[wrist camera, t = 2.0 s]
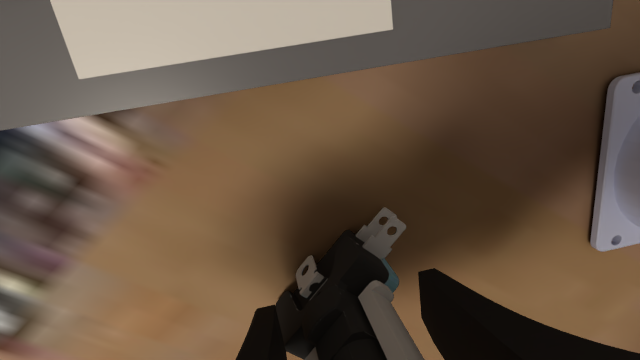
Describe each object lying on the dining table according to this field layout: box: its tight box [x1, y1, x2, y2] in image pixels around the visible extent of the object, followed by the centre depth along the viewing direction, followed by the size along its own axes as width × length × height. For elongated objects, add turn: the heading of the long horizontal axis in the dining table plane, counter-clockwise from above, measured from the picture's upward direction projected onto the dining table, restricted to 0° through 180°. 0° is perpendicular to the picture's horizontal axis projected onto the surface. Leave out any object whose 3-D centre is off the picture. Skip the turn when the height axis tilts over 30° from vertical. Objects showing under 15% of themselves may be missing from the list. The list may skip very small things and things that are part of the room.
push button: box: [275, 207, 424, 360], centre depth 11 cm, size 7×5×10 cm
